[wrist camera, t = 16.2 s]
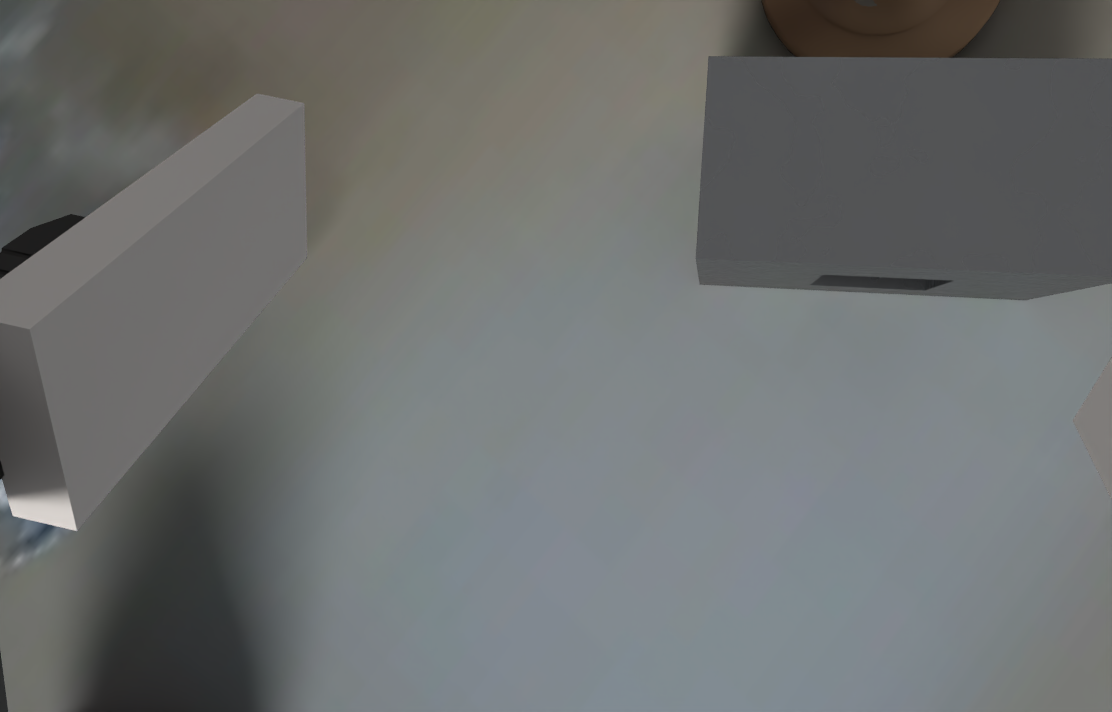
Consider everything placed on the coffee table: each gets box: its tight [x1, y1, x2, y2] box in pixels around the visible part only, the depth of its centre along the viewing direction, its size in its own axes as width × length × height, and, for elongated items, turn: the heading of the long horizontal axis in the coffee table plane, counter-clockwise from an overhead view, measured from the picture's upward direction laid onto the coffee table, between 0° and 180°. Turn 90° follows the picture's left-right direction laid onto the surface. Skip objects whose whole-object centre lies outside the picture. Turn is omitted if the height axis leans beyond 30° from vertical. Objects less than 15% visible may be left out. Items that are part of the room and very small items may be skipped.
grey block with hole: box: [696, 56, 1112, 300], centre depth 30 cm, size 6×12×9 cm, turn 87°
